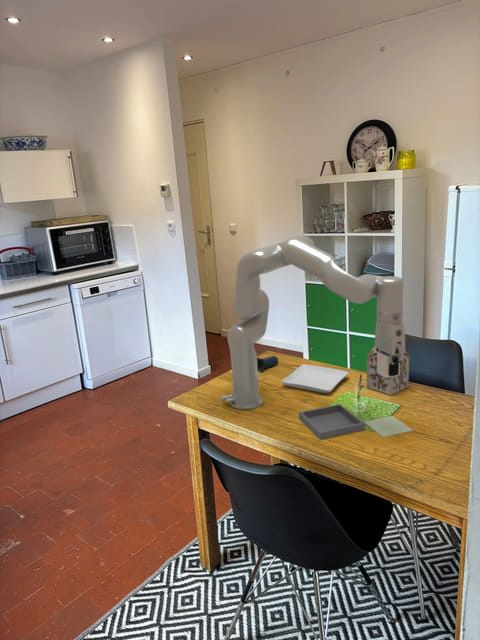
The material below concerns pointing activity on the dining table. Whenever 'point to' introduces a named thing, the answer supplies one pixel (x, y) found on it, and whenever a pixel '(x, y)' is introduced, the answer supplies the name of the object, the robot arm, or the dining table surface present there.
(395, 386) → the decorative jar
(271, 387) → the dining table surface
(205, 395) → the dining table surface
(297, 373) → the salad plate
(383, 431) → the mat
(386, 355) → the labelled box
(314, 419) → the bin
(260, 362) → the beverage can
